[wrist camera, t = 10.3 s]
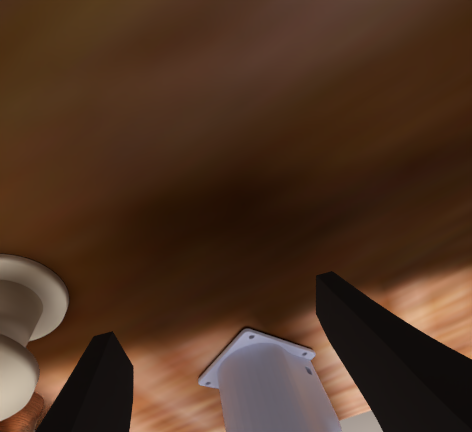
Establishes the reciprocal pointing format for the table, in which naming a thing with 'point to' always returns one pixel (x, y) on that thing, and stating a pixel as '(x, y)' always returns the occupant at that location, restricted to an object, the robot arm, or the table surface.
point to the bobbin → (25, 325)
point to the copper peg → (24, 417)
